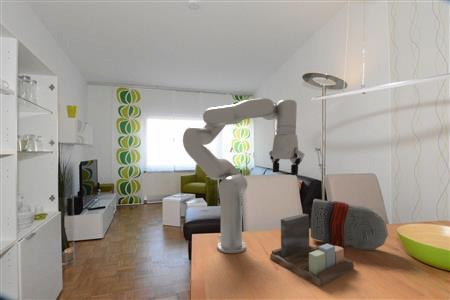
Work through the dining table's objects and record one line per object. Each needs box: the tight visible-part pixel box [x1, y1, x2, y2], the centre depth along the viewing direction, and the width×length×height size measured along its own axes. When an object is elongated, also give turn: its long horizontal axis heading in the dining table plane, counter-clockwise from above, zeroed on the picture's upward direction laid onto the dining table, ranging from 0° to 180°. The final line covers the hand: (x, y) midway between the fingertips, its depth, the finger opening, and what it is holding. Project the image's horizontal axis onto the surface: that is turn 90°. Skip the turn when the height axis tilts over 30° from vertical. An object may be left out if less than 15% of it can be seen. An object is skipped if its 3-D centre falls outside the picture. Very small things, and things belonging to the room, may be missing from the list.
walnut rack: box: [269, 244, 355, 287], centre depth 86 cm, size 22×20×3 cm
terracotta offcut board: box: [335, 246, 345, 265], centre depth 83 cm, size 3×5×7 cm, turn 122°
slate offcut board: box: [318, 243, 335, 270], centre depth 80 cm, size 3×5×9 cm, turn 122°
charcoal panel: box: [280, 213, 310, 259], centre depth 92 cm, size 2×14×16 cm, turn 122°
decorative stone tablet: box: [310, 198, 389, 251], centre depth 102 cm, size 19×6×30 cm
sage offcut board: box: [308, 250, 326, 276], centre depth 77 cm, size 3×5×8 cm, turn 122°
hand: (284, 173), depth 92 cm, fingers open, 9 cm apart
